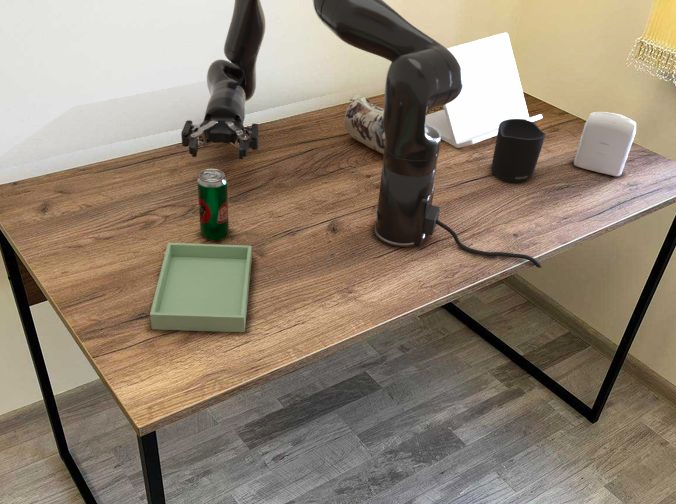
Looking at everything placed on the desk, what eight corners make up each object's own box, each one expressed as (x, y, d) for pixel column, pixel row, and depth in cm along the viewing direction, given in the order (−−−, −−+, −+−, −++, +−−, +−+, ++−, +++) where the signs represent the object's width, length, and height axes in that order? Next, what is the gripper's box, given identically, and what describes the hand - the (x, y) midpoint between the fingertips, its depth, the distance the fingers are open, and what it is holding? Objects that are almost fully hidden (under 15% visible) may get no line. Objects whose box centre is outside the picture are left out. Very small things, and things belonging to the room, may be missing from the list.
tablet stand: (411, 123, 172) (422, 48, 160) (483, 98, 184) (498, 28, 173) (469, 154, 162) (485, 77, 150) (541, 126, 174) (561, 53, 163)
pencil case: (436, 165, 157) (444, 122, 151) (409, 177, 153) (416, 133, 146) (364, 128, 169) (368, 86, 162) (337, 138, 164) (340, 95, 158)
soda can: (224, 244, 132) (221, 184, 123) (196, 239, 132) (192, 179, 124) (232, 229, 135) (230, 170, 127) (205, 225, 136) (202, 165, 128)
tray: (169, 257, 128) (167, 242, 126) (251, 260, 128) (251, 245, 126) (151, 329, 114) (149, 314, 112) (244, 332, 114) (244, 317, 112)
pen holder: (484, 178, 154) (494, 133, 148) (494, 158, 161) (504, 115, 154) (529, 188, 152) (541, 143, 145) (537, 168, 159) (549, 124, 152)
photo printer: (570, 166, 160) (587, 112, 152) (575, 158, 163) (591, 104, 155) (619, 179, 157) (638, 124, 149) (622, 171, 160) (642, 116, 152)
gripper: (187, 94, 144) (176, 132, 132) (261, 98, 145) (256, 136, 133) (190, 130, 149) (179, 170, 137) (261, 133, 150) (256, 174, 138)
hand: (217, 153), depth 135 cm, fingers open, 8 cm apart
